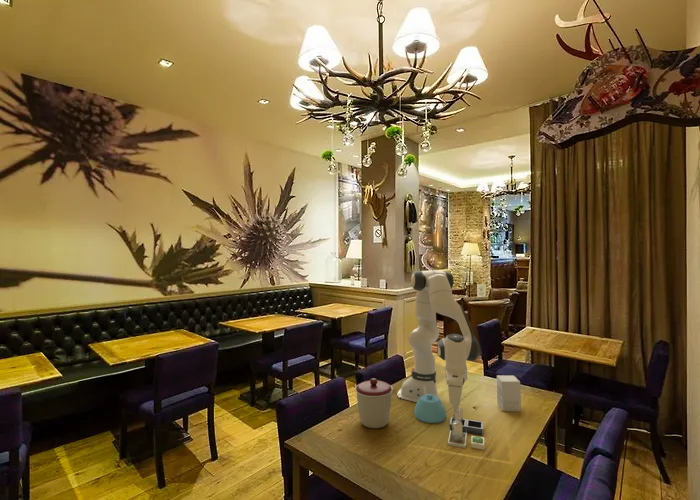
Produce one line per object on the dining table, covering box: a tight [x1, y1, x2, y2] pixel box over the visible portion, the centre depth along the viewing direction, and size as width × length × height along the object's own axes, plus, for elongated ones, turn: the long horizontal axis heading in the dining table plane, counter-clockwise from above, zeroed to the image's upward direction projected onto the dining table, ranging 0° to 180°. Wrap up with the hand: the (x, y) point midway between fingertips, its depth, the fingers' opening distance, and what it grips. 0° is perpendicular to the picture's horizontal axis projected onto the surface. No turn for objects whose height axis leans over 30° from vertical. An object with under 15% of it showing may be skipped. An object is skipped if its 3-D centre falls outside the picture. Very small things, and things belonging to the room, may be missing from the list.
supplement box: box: [496, 374, 522, 412], centre depth 180 cm, size 9×9×15 cm
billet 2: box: [452, 421, 464, 444], centre depth 149 cm, size 4×4×8 cm
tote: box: [447, 429, 468, 449], centre depth 149 cm, size 7×10×2 cm
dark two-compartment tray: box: [449, 416, 484, 437], centre depth 158 cm, size 14×8×4 cm, turn 69°
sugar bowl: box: [413, 394, 447, 424], centre depth 170 cm, size 15×15×12 cm
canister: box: [354, 377, 394, 429], centre depth 167 cm, size 18×18×21 cm
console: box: [470, 435, 485, 450], centre depth 145 cm, size 5×6×3 cm
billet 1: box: [452, 407, 464, 425], centre depth 159 cm, size 4×4×8 cm
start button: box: [473, 435, 483, 444], centre depth 145 cm, size 3×3×3 cm
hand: (456, 407), depth 149 cm, fingers open, 8 cm apart
